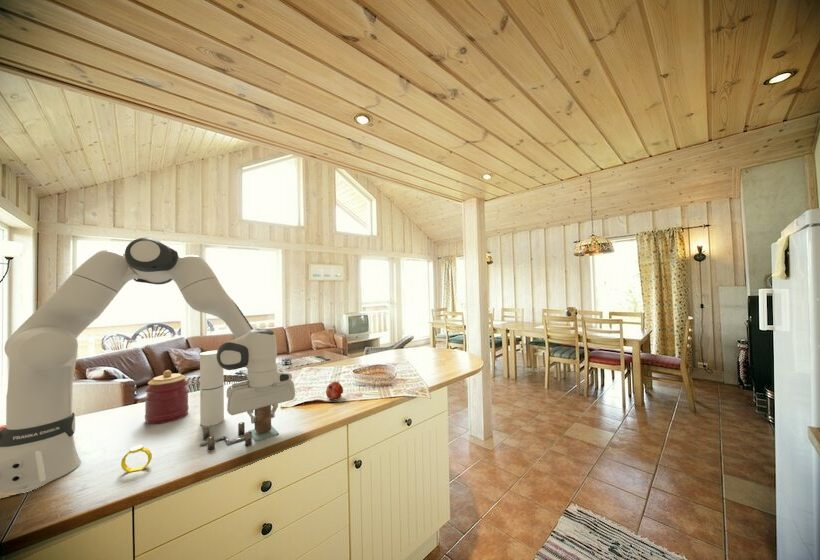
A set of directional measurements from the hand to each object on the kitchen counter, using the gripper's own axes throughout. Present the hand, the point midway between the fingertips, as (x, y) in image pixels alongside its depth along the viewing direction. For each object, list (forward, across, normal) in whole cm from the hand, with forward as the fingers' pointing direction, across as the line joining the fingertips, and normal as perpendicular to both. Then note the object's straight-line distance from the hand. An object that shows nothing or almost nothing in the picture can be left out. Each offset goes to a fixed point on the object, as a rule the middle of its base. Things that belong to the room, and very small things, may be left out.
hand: (263, 420), depth 99 cm
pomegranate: (+4, +32, +12) cm, 35 cm away
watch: (+5, -31, +2) cm, 31 cm away
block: (+3, 0, 0) cm, 3 cm away
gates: (+4, -10, +2) cm, 11 cm away
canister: (+5, -23, +40) cm, 46 cm away
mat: (+4, 0, 0) cm, 4 cm away
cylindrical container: (+4, -11, +23) cm, 26 cm away
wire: (+4, -10, +2) cm, 11 cm away
